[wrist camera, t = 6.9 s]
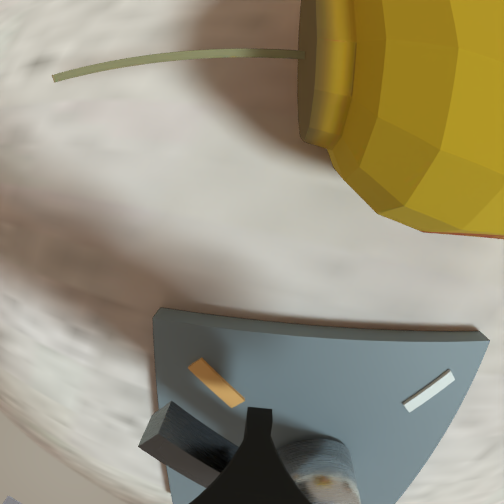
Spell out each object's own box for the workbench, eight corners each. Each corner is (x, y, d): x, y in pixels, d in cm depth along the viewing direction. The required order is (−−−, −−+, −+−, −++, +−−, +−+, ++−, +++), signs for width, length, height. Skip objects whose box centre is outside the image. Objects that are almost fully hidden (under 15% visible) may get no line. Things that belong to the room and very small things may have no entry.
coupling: (365, 458, 16) (382, 525, 11) (304, 491, 17) (307, 554, 12) (209, 344, 14) (182, 426, 9) (149, 395, 15) (113, 468, 10)
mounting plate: (385, 502, 19) (388, 514, 18) (176, 495, 20) (172, 507, 19) (479, 331, 15) (491, 342, 13) (160, 307, 15) (151, 319, 14)
